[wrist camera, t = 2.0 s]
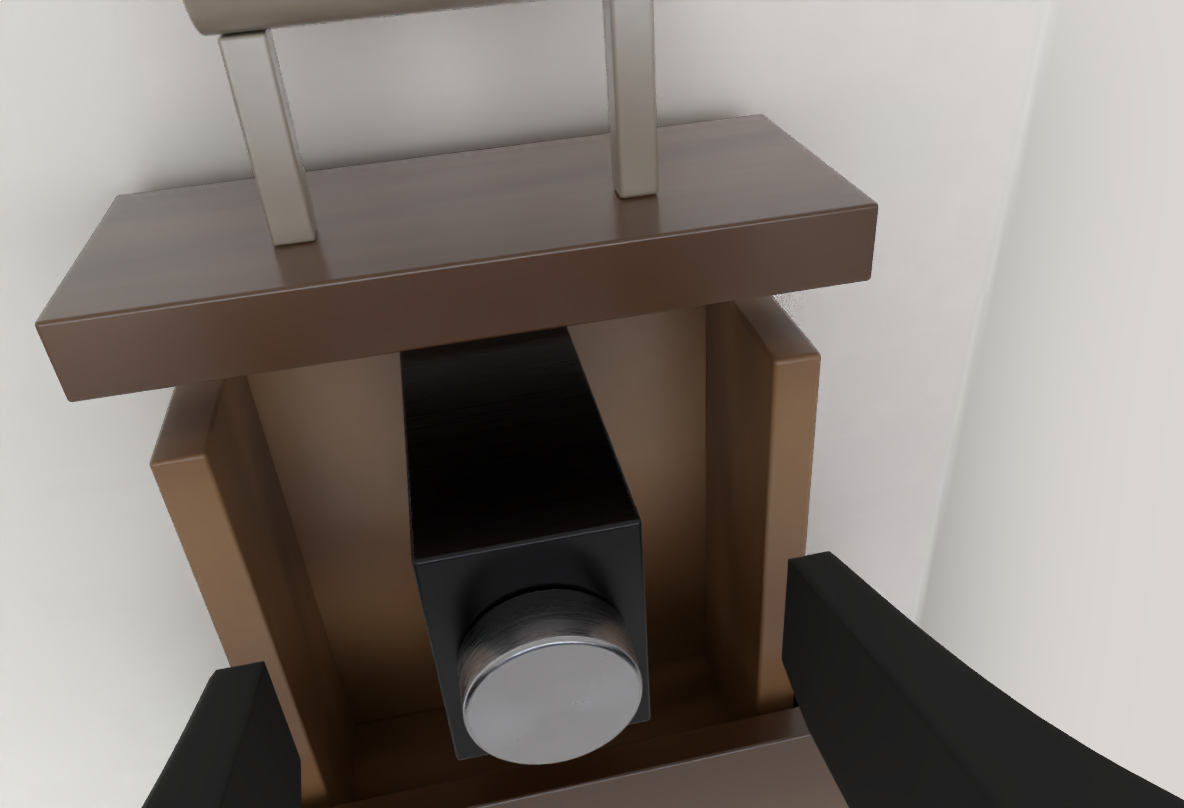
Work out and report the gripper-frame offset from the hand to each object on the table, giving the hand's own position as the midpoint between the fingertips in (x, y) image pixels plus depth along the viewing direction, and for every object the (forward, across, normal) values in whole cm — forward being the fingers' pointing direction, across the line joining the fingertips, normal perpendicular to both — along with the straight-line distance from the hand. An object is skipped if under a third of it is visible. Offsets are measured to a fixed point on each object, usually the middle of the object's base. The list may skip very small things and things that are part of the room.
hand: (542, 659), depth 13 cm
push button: (+6, 0, 0) cm, 6 cm away
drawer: (+7, 0, 0) cm, 7 cm away
